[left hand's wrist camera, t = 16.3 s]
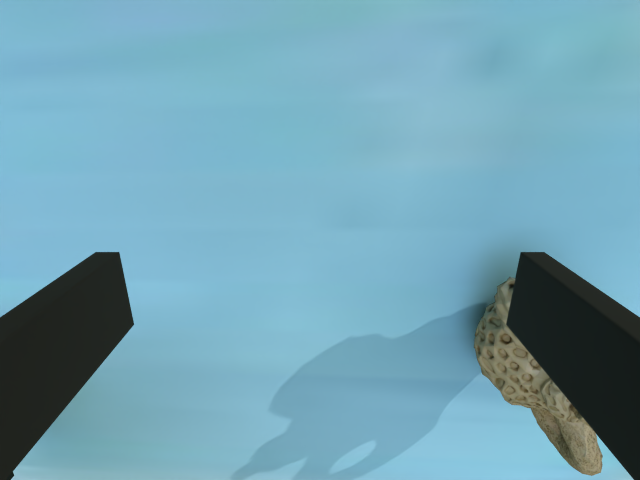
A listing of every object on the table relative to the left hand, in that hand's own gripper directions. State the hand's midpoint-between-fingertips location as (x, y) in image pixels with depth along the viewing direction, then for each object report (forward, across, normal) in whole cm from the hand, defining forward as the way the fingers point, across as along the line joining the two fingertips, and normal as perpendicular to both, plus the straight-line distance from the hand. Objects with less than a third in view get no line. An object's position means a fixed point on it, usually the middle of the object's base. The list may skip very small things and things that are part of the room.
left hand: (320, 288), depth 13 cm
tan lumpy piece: (+27, -23, +19) cm, 41 cm away
